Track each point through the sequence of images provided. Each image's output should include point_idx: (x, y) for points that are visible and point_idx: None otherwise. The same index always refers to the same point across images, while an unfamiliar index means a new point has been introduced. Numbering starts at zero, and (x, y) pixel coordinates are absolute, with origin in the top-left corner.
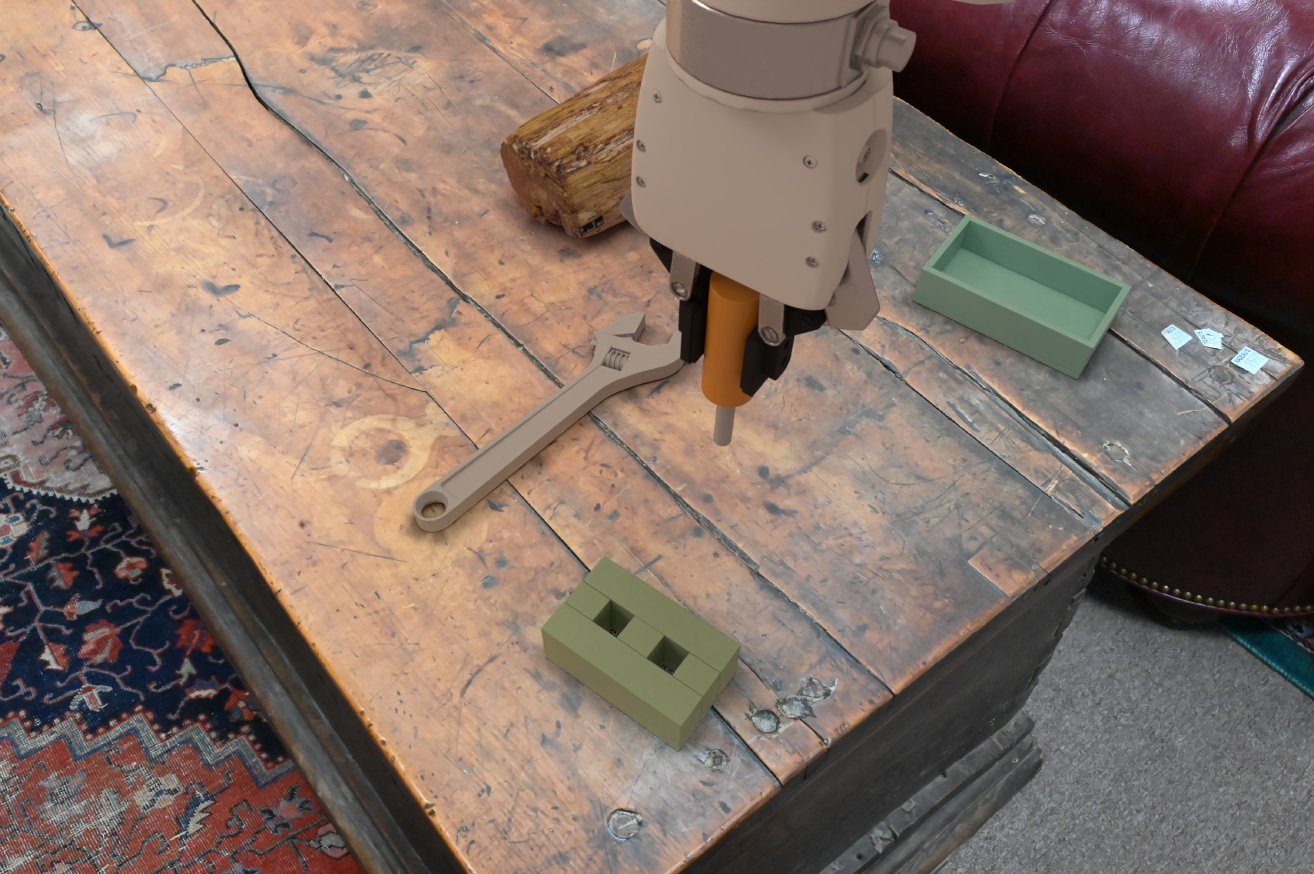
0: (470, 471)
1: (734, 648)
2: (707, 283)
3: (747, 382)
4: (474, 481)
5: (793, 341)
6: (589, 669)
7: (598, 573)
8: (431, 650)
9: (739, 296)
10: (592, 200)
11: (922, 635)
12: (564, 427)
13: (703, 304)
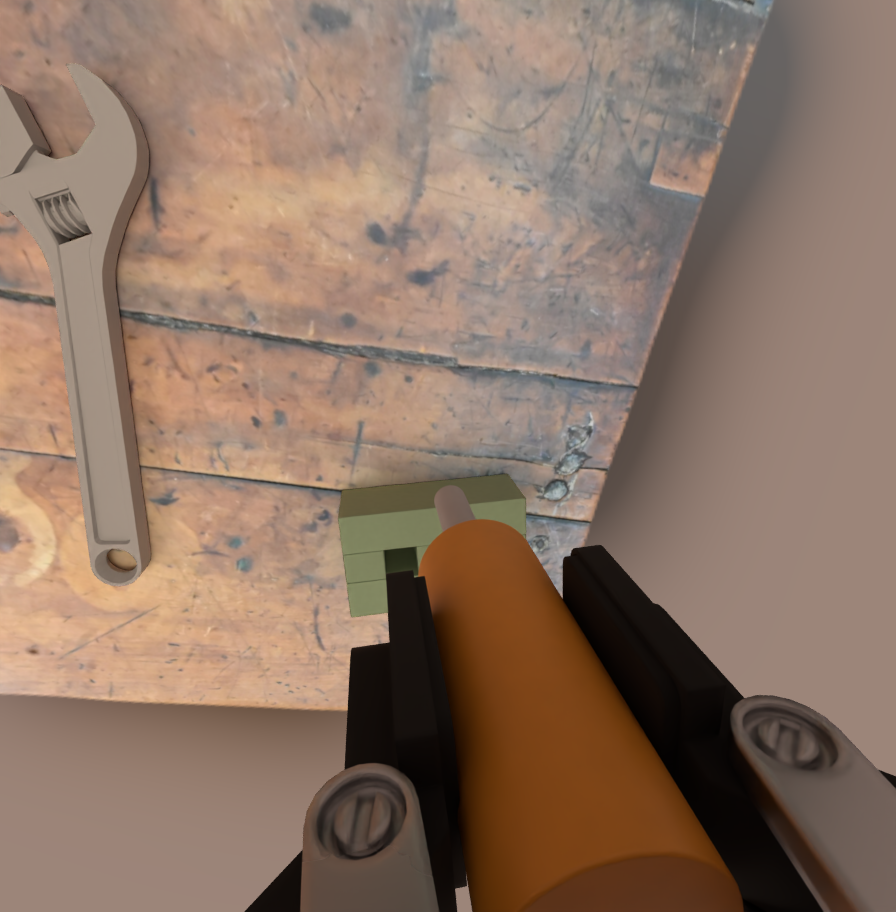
0: (102, 503)
1: (522, 505)
2: (450, 898)
3: None
4: (120, 509)
5: (701, 652)
6: None
7: (350, 538)
8: (265, 643)
9: None
10: None
11: (642, 311)
12: (122, 364)
13: (462, 865)
